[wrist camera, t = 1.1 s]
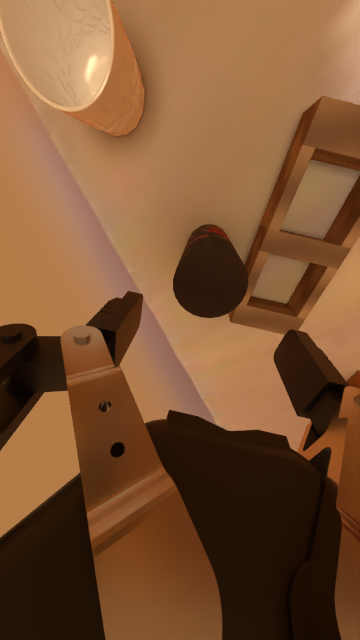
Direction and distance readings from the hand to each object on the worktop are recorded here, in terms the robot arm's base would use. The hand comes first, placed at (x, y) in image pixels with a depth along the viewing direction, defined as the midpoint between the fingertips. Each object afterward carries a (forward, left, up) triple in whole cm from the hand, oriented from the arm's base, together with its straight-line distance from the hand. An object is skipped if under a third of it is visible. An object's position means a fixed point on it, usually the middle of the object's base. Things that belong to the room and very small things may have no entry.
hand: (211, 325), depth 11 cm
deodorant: (0, 0, -21) cm, 21 cm away
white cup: (-13, -14, -21) cm, 28 cm away
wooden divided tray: (-3, +11, -21) cm, 24 cm away
